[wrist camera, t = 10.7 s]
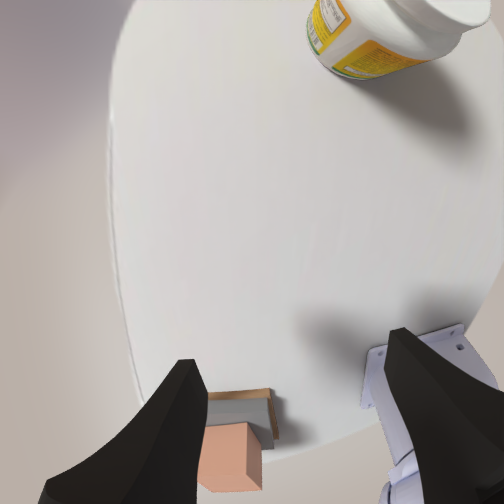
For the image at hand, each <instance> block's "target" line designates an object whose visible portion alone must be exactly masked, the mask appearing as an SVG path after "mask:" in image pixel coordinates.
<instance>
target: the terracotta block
mask: <svg viewBox="0 0 504 504" xmlns="http://www.w3.org/2000/svg"><path fill="white" fill-rule="evenodd" d="M197 482H199V483H200V484H201V485H203V486H204V487H205V488H207V489H208V490H210V491H211V492H244V491H257V490H262V453H261V443H260V442H259V440H258V439H257V437H256V436H255V434H254V433H253V431H252V429H251V428H250V426H249V425H248V423H247V422H246V423H238V424H229V425H219V426H208V427H205V433H204V438H203V444H202V449H201V455H200V460H199V467H198V476H197Z"/></svg>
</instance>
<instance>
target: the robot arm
mask: <svg viewBox="0 0 504 504" xmlns="http://www.w3.org/2000/svg"><path fill="white" fill-rule="evenodd" d="M464 329H465V326H464V325H463V324H462V323H460V324H457V325H454V326H451V327H448V328H445V329H442V330H438V331H435V332H432V333H428V334H425V335H422V336H418V337H416V336H415V335H414V334H413V333H411V332H410V331H409V330H407V329H406V328H405V327H404V328H400V329H396V330H391V331H390V334H389V340H388V344H387V345H383V346H379V347H375V348H372V349H370V350H369V352H368V356H367V363H366V371H365V377H364V384H363V390H362V396H361V402H360V407H361V408H362V409H367V408H371V407H376V410H377V413H378V416H379V419H380V421H381V424H382V427H383V430H384V433H385V436H386V439H387V443H388V445H389V449H390V452H391V455H392V458H393V462H394V465H395V467H394V468H393V469H391V470H389V471H388V475H389V479H390V481H389V482H388V483H386V484H385V486H384V487H383V489H382V493H381V496H380V499H379V504H504V392H502V391H500V390H499V389H498V385H497V382H496V379H495V377H494V375H493V374H492V372H491V371H490V369H489V368H488V367H487V365H486V364H485V362H484V361H483V360H482V358H481V357H480V356H479V354H478V353H477V352H476V350H475V349H474V348H473V346H472V345H471V344H470V342H469V341H468V340H467V339H466V337H465V336H464V335H463V332H464ZM379 352H380V353H379ZM207 412H208V392H207V389H206V387H205V385H204V382H203V380H202V377H201V375H200V372H199V370H198V368H197V365H196V363H195V360H194V359H184V360H178V361H177V363H176V364H175V365H174V367H173V368H172V369H171V371H170V372H169V373H168V375H167V376H166V378H165V379H164V380H163V382H162V383H161V384H160V386H159V387H158V388H157V390H156V391H155V392H154V394H153V395H152V396H151V398H150V399H149V400H148V401H147V403H146V404H145V405H144V406H143V407H142V409H141V410H140V411H139V412H138V413H137V415H136V416H135V417H134V418H133V419H132V420H131V421H130V423H128V424H127V426H125V427H124V428H123V429H122V430H121V431H120V432H119V433H118V434H117V435H116V436H115V437H114V438H113V439H112V440H111V441H109V442H108V443H107V444H106V445H104V446H103V447H102V448H101V449H99V450H98V451H97V452H95V453H94V454H93V455H91V456H90V457H88V458H87V459H85V460H84V461H83V462H81V463H79V464H77V465H76V466H74V467H72V468H71V469H69V470H67V471H65V472H63V473H61V474H59V475H57V476H55V477H52V478H50V479H48V480H47V481H46V483H45V486H44V488H43V491H42V493H41V496H40V499H39V502H38V504H197V476H198V467H199V460H200V455H201V449H202V444H203V438H204V433H205V427H206V421H207Z"/></svg>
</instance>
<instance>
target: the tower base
mask: <svg viewBox="0 0 504 504" xmlns="http://www.w3.org/2000/svg"><path fill="white" fill-rule="evenodd" d="M264 397H267V400H268V406H269V413H270V419H271V425H272V431H273V437H274V439H279V433H278V428H277V423H276V418H275V414H274V409H273V404H272V399H271V394H270V389H269V388H265V389H254V390H243V391H229V392H210V393H208V400H232V399H250V398H264Z"/></svg>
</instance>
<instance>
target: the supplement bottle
mask: <svg viewBox="0 0 504 504" xmlns="http://www.w3.org/2000/svg"><path fill="white" fill-rule="evenodd" d="M490 15H491V0H317V1H316V3H315V4H314V6H313V8H312V10H311V12H310V14H309V17H308V19H307V22H306V38H307V42H308V45H309V47H310V49H311V51H312V52H313V54H314V55H315V56H316V58H317V59H318V60H319V61H320V62H321V63H322V64H323V65H324V66H325V67H327V68H328V69H330V70H331V71H333V72H334V73H336V74H338V75H341V76H344V77H348V78H352V79H358V80H368V79H373V78H377V77H380V76H383V75H386V74H388V73H391V72H394V71H397V70H400V69H403V68H406V67H410V66H413V65H416V64H420V63H423V62H427V61H430V60H434V59H437V58H440V57H443V56H445V55H447V54H449V53H450V52H451V51H452V50H453V49H454V48H455V47H456V46H457V45H458V43H459V41H460V39H461V36H462V33H464V32H466V31H468V30H471V29H474V28H477V27H480V26H482V25H484V24H485V23H486V22H487V21H488V19H489V18H490Z"/></svg>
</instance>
